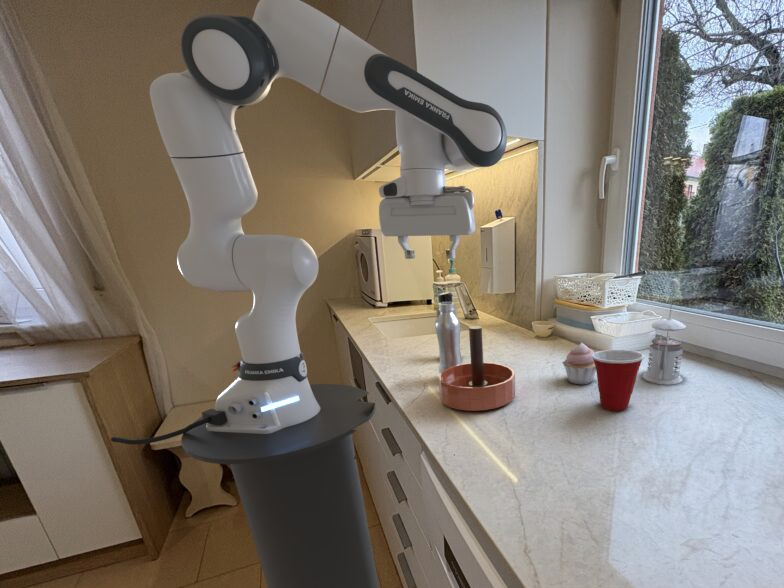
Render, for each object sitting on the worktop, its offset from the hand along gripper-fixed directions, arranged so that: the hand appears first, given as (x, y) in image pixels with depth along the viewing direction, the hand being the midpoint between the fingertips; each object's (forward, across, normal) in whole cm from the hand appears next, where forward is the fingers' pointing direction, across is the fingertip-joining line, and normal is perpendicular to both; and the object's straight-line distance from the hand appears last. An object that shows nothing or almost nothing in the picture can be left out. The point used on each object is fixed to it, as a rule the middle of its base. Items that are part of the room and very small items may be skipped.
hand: (430, 258), depth 88 cm
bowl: (+31, -10, +2) cm, 33 cm away
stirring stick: (+30, -10, +2) cm, 32 cm away
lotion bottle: (+31, +8, -25) cm, 41 cm away
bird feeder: (+32, -53, -19) cm, 64 cm away
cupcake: (+31, -32, -14) cm, 47 cm away
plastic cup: (+32, -40, 0) cm, 51 cm away
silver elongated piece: (+31, +1, -9) cm, 32 cm away
